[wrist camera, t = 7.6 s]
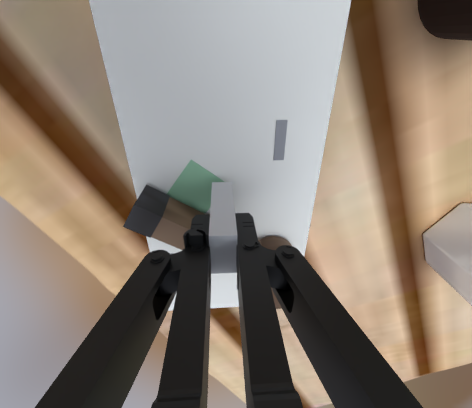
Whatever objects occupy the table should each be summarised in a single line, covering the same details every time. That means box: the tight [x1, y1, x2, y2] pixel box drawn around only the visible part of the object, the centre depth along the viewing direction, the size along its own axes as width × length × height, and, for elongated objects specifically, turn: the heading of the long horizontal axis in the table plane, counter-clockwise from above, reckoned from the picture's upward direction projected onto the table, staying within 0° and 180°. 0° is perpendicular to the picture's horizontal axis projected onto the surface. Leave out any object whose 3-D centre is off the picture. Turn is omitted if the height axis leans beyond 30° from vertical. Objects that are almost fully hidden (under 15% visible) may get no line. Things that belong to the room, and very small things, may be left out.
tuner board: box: [89, 0, 351, 311], centre depth 21 cm, size 30×15×2 cm, turn 0°
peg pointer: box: [123, 184, 292, 309], centre depth 20 cm, size 15×4×4 cm, turn 58°
